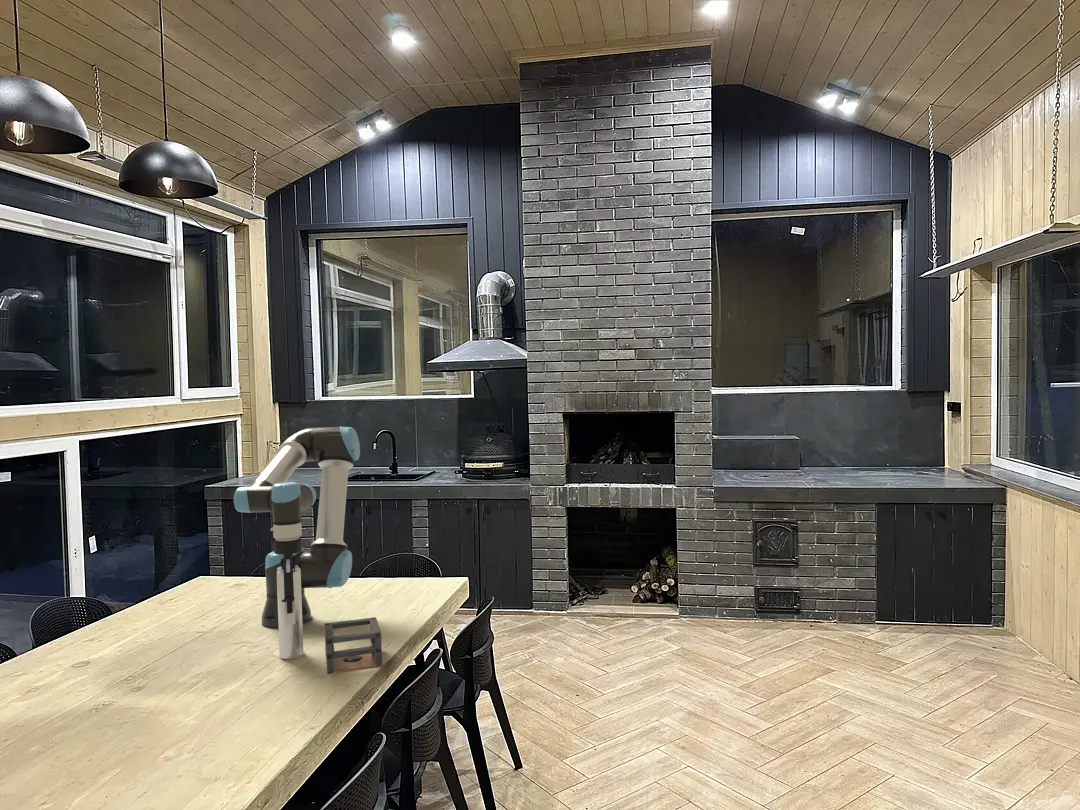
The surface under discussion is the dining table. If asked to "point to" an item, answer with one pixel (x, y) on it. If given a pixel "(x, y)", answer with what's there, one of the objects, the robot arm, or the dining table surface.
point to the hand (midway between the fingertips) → (290, 620)
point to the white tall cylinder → (294, 632)
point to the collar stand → (353, 657)
